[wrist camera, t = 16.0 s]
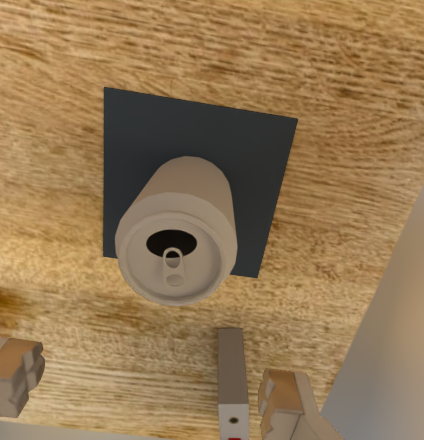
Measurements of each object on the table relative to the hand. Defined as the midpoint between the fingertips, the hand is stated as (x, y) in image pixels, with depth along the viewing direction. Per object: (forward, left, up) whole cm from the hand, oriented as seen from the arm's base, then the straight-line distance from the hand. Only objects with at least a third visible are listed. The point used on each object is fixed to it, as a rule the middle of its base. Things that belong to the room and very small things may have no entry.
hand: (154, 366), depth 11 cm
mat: (0, 0, -19) cm, 19 cm away
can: (0, 0, -19) cm, 19 cm away
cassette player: (-8, +23, -19) cm, 31 cm away
